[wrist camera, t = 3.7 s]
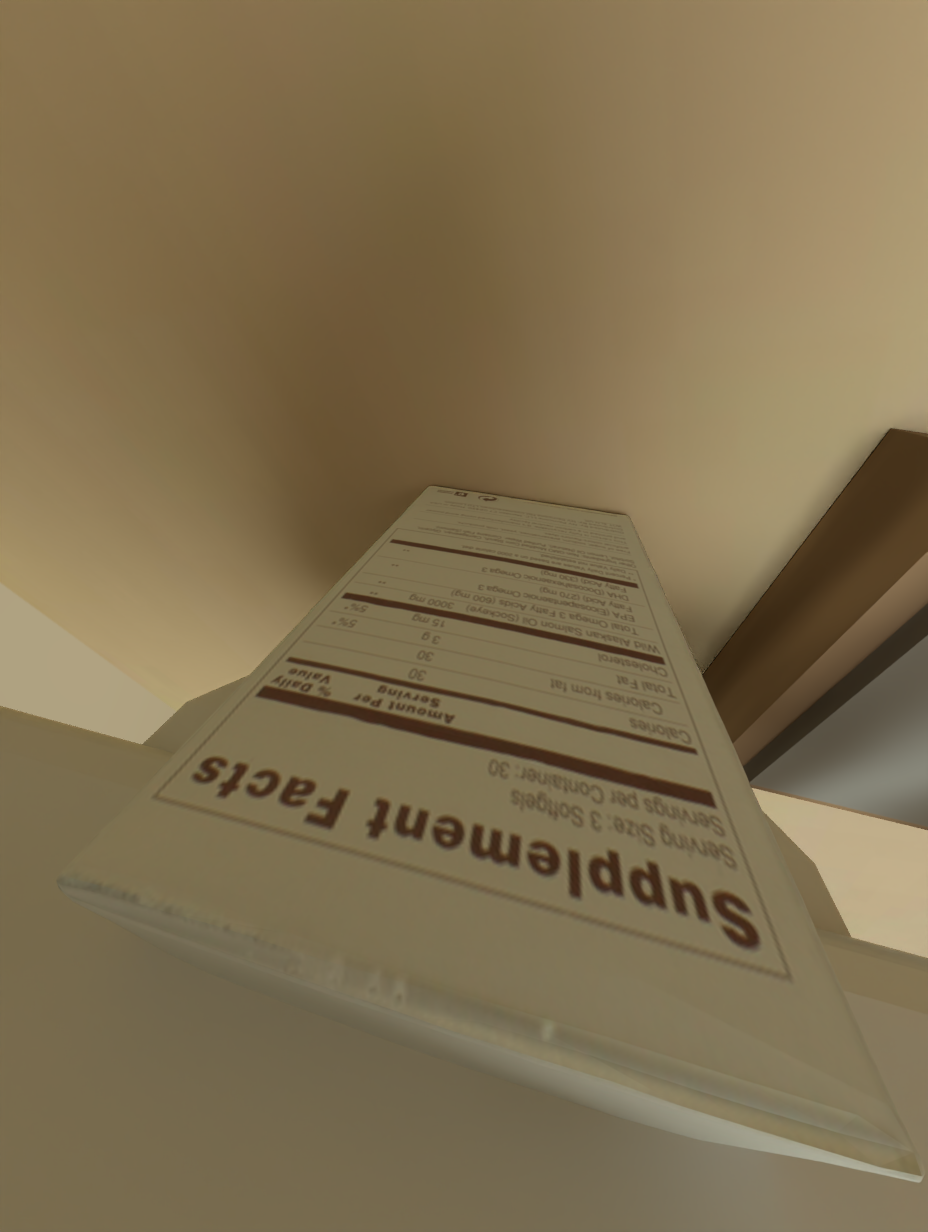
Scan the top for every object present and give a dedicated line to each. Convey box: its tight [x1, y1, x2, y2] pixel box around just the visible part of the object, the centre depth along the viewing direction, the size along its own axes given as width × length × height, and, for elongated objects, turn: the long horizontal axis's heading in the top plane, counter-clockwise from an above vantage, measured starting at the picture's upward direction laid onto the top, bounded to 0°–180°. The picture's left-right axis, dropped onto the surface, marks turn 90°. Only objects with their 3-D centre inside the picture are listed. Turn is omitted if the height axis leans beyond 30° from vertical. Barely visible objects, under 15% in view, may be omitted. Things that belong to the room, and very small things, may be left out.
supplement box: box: [56, 486, 925, 1183], centre depth 10 cm, size 7×7×13 cm
